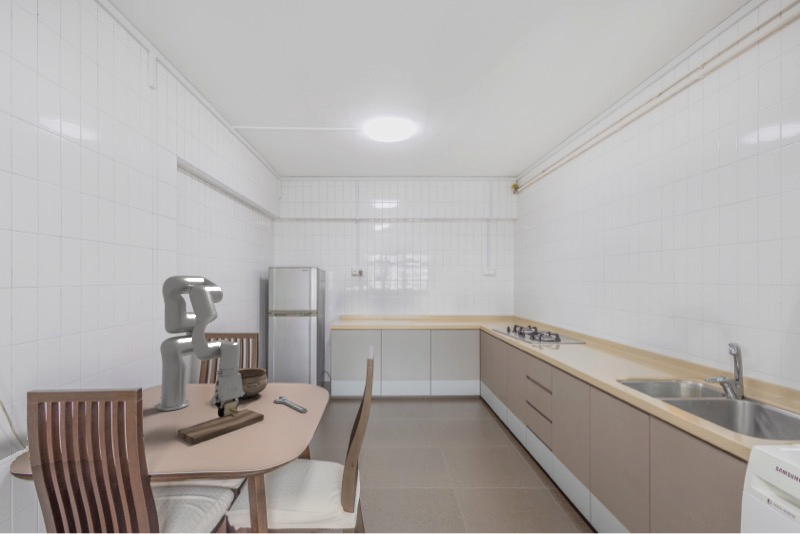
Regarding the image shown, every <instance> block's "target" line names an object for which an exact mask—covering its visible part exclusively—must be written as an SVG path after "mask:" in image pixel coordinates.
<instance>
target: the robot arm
mask: <svg viewBox="0 0 800 534" xmlns="http://www.w3.org/2000/svg"><path fill="white" fill-rule="evenodd" d="M161 292H162V297H163V302H164V330H165V332H166V333H168V334H171V335H172V334H173V335H175V334H176V336H172V337H168V338H166V339H165V340H163V341H162V342H161V345H160V350H159V351H160V355H161V363H162V364H161V365H162V367H161V370H162V371H161V395H160V403H158V404H157V405H156V411H161V412H167V411H169V412H170V411H176V410H180V409H183V408H186V407H187V406H189V405H190V400H188V399H186V397H187V396H186V395H187V372H188V371H187V370H188V369H187V367H188V366H187V363H186V361H185V360H184V358H183V357H187V356H191V355H195V356H196V358H197V359H198V360H200V361H203V362H204V361H210V360H213V359H219V362H218V363H219V367H218V370H217V371H216V372H215V373H216V375H217V376H216V381H215V387H214V395H213V396H212V397H211V399H210V403H211V404H213V405H214V406H216V408H217V416H218V418H220V417H223V416H224V408H223V405H224V401H227V400H234V401H237V405H238V404H239V402H240V400H241V399H242V398H241V397H242V396H243V395H244V394H245V392H244V391H243V390H242V379H241V374H240V373H239V369H240V368H239V367H240V343H239V342H238V341H237V342H236V341H229V340H227V339H218V340H212V341H211V340H210V341H207V340H206V333H205V332H206V328H207V326H208V325H209V324H210V323H212V322H215V320H217V318H218V317H219V316H218V312H217V309H216V306H215V304H218V303H221V301H222V300H223V297H224V292H223V290H222V288H221V287H220V286H219V285H217V284H216V283H215V282H213V281H211V280H209V278H206V277H204V276H201V275H173V276H169V277H168V278H166V279H165V280H164V282H163V284H162V289H161ZM182 295H188V296H189V300H190V303H191V307H192V310H193V311H187V301H186V300H185V298H184V297H183V296H182ZM183 333H185V335H177V334H183Z"/></svg>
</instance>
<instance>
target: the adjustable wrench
mask: <svg viewBox="0 0 800 534" xmlns="http://www.w3.org/2000/svg"><path fill="white" fill-rule="evenodd" d="M274 403H275V404H283V405H286V406H288V407H290V408H292V409H294V410H296V411H298V412H300V413H301V414H306V413H308V409H307V408H306V407H303V406H302V405H300V404H298V403H295V402H292V400H291V401H290V400H289V398H288V396H286V395H285V396H284V395H281V396H279V397H278V398H277V397H275V398H274Z"/></svg>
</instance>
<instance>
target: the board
mask: <svg viewBox="0 0 800 534" xmlns="http://www.w3.org/2000/svg"><path fill="white" fill-rule="evenodd" d="M238 411H239V412H238V413H232V414H229V415H226V416H223V417H217V418H214V419H211V420H207V421H204V422H201V423H198V424H195V425H192V426H188V427H185V428H181V429H179V430H177V437H178V438H180V439H183V440H185V441H186V442H189V443H190V444H192V445H197V444H200V443H203V442H205V441H208V440H211V439H214V438H217V437H219V436H221V435H225V434H227V433H231V432H233V431H236V430H239V429H241V428H244V427H247V426H249V425H252V424H256V423H259V422H261V421H264V420H265V418H264V417H265V415H264V414H262V413H261V412H260V413H259V412H256V411H253V410H252V409H248V408H246V409H242V410H238Z"/></svg>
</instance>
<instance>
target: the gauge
mask: <svg viewBox="0 0 800 534" xmlns="http://www.w3.org/2000/svg"><path fill="white" fill-rule="evenodd" d="M223 408H224V416H226V415H229V414H232V413H238V412H239V411H240V410H238V404H237V401H234V400H232V399H231V400H227V401H224V405H223Z"/></svg>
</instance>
